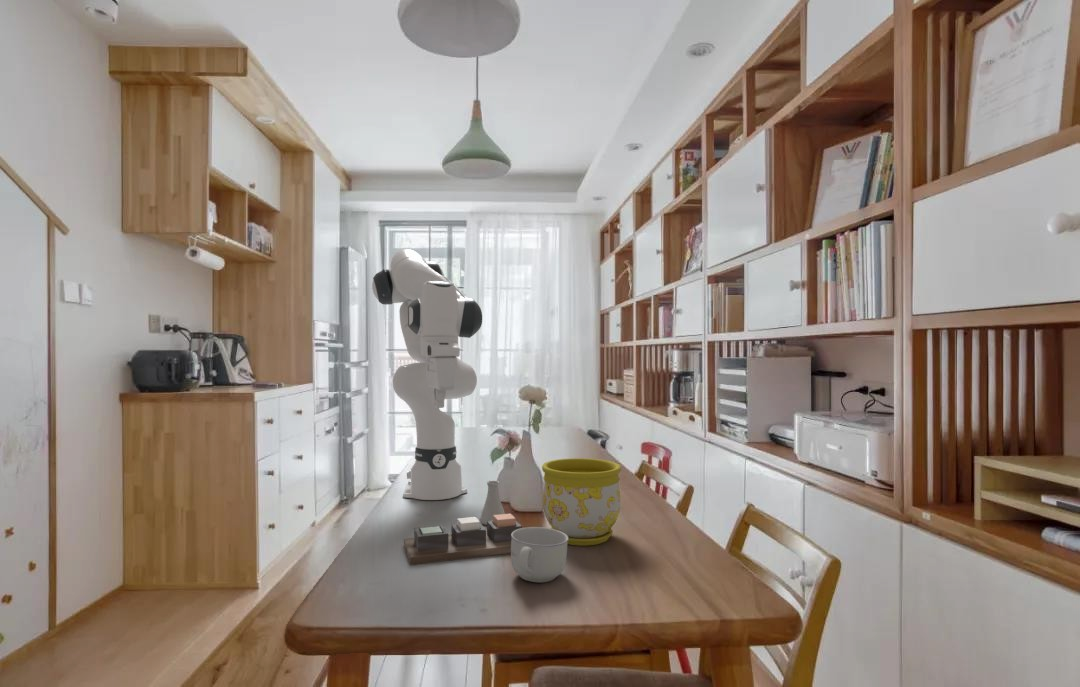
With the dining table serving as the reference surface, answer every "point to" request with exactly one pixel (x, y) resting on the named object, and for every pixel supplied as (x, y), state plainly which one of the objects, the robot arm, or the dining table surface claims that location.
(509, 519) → the terracotta button
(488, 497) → the flask
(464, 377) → the robot arm
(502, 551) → the button console
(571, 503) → the flowerpot
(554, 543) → the teacup
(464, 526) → the cream button
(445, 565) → the dining table surface
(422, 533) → the sage button
